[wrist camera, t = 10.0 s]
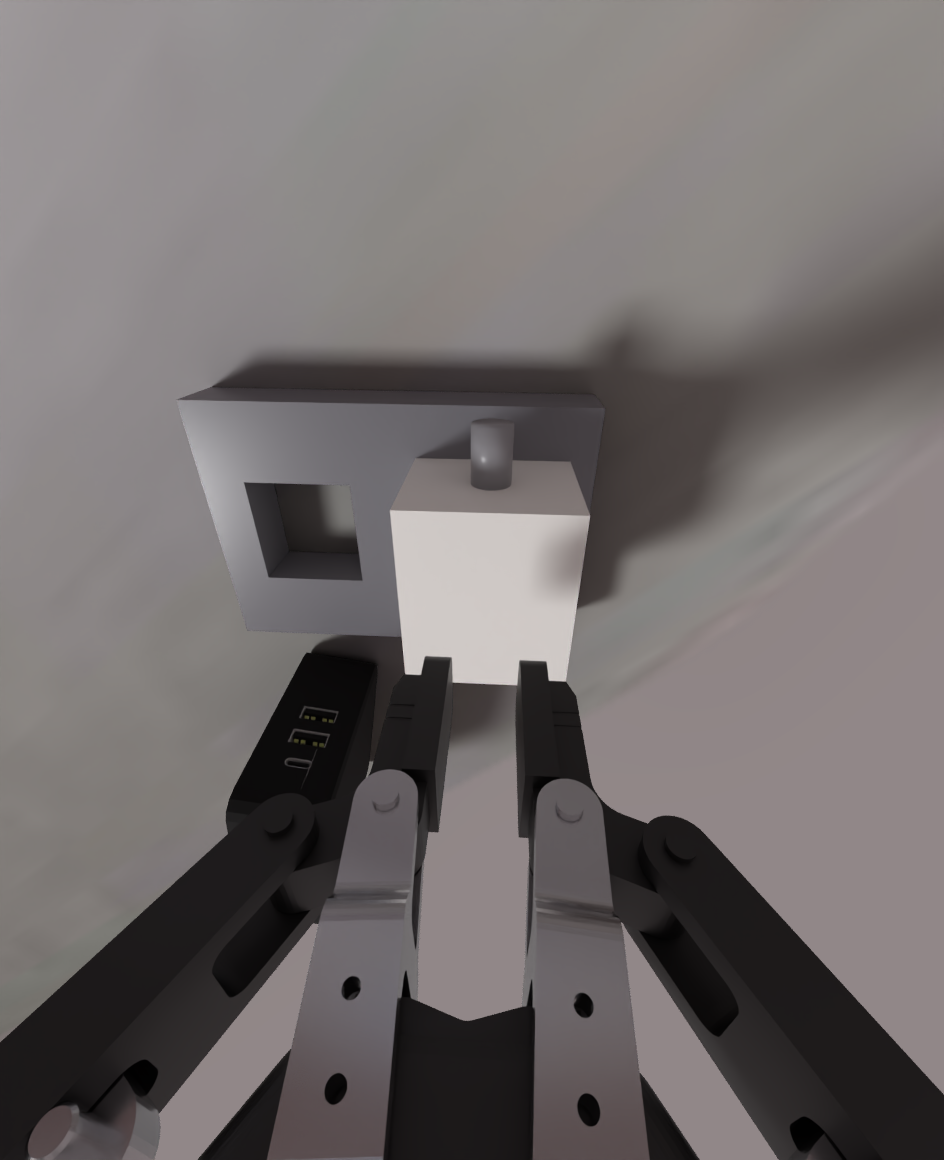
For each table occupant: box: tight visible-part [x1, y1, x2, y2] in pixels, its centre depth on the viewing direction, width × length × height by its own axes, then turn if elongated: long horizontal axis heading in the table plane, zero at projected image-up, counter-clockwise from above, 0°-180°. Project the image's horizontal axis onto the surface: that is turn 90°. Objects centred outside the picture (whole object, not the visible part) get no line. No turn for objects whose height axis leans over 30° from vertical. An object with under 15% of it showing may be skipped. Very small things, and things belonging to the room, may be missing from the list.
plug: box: [390, 418, 590, 685], centre depth 19 cm, size 9×6×7 cm, turn 0°
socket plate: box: [176, 387, 605, 637], centre depth 22 cm, size 11×16×2 cm
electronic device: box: [226, 653, 377, 924], centre depth 26 cm, size 4×10×10 cm, turn 170°
